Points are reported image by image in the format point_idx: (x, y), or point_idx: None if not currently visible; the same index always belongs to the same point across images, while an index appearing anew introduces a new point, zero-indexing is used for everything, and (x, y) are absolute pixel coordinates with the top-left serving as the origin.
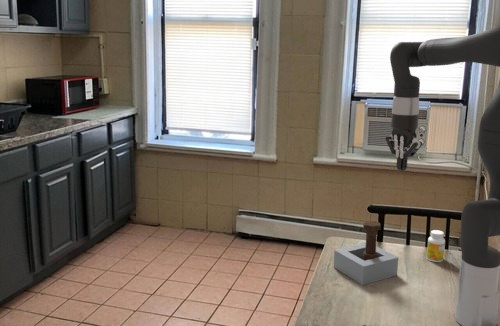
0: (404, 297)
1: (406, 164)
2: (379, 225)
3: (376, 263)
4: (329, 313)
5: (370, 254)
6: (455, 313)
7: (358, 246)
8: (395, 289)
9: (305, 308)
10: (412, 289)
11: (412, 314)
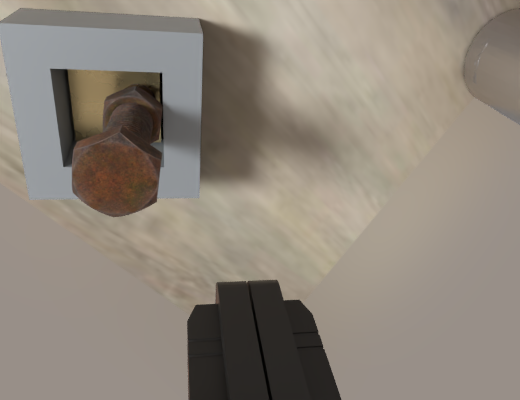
0: (317, 116)
1: (320, 350)
2: (158, 167)
3: (200, 144)
4: None
5: (150, 138)
6: (475, 93)
7: (30, 97)
8: (270, 103)
9: None
10: (300, 56)
11: (383, 163)
